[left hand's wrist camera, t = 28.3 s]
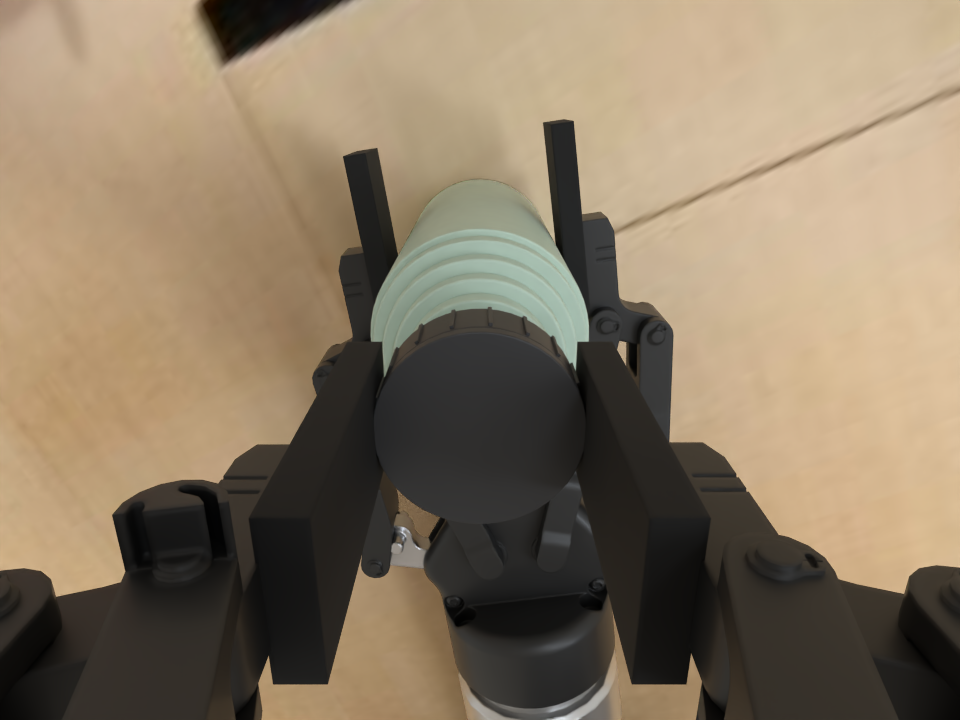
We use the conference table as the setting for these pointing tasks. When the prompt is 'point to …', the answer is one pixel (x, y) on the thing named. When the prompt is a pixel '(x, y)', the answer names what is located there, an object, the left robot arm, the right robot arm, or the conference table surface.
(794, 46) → the conference table surface
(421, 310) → the bottle
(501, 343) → the cap
